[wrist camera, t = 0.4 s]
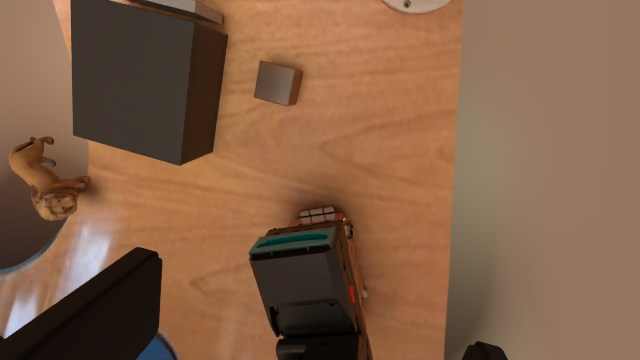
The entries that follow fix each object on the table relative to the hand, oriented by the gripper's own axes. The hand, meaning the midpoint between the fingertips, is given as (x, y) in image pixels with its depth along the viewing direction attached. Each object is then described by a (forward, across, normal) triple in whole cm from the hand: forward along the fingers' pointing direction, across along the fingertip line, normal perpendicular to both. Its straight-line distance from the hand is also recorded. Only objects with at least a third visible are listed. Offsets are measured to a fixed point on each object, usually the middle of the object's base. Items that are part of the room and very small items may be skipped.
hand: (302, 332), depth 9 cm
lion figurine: (+35, +43, +16) cm, 58 cm away
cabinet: (+35, +27, -2) cm, 44 cm away
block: (+35, +11, -5) cm, 37 cm away
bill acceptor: (+35, -2, +20) cm, 41 cm away
